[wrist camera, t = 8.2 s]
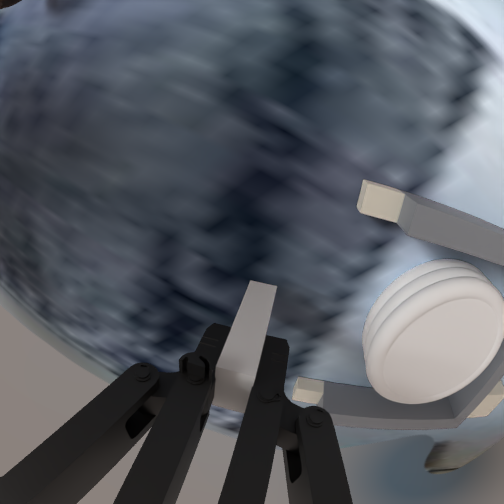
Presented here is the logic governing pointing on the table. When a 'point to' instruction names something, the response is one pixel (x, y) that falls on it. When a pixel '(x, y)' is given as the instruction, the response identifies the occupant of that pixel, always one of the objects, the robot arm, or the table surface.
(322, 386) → the grey u-shaped frame
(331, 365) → the table surface
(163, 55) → the table surface
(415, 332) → the white round disc
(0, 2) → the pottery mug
